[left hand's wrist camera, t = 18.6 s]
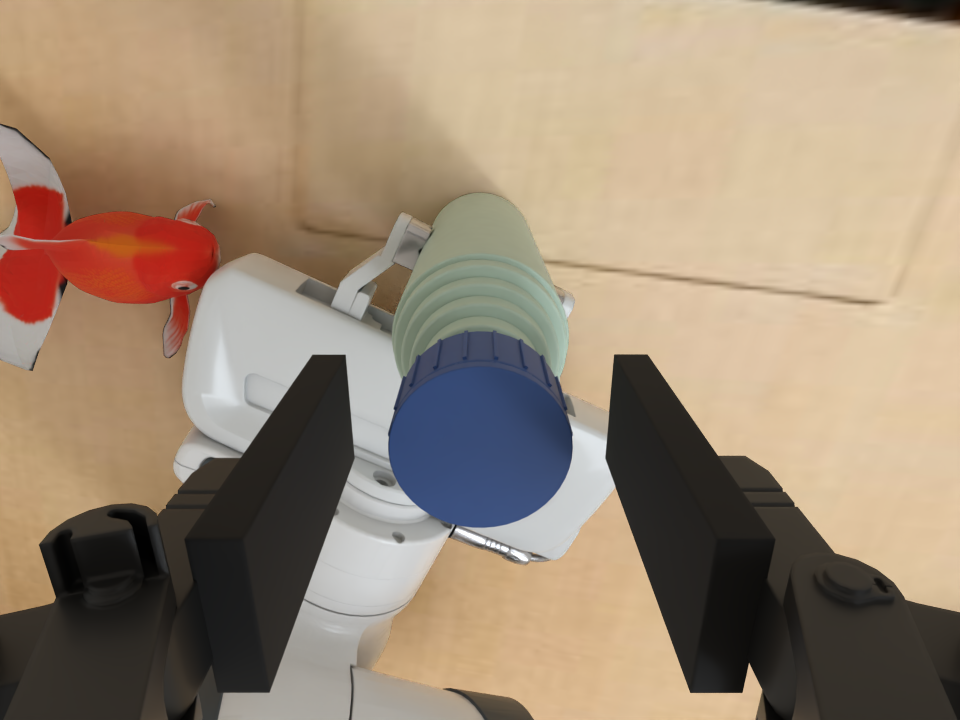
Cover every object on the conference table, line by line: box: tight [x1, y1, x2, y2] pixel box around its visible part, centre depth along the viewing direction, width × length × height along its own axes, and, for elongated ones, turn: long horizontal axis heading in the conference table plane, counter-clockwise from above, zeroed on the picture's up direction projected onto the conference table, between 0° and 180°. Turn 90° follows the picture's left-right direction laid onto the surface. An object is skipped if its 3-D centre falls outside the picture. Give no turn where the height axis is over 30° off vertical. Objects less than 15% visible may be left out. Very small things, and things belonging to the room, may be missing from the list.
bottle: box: [392, 193, 569, 379], centre depth 23 cm, size 5×5×21 cm
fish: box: [0, 124, 221, 371], centre depth 29 cm, size 11×16×10 cm
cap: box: [388, 330, 573, 528], centre depth 14 cm, size 4×4×2 cm
